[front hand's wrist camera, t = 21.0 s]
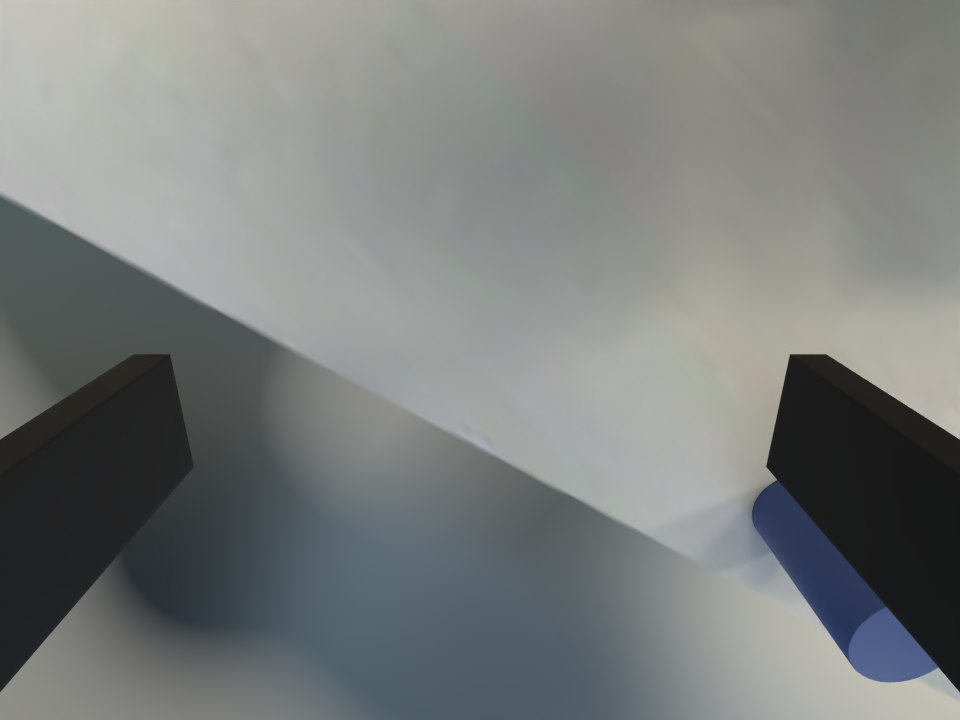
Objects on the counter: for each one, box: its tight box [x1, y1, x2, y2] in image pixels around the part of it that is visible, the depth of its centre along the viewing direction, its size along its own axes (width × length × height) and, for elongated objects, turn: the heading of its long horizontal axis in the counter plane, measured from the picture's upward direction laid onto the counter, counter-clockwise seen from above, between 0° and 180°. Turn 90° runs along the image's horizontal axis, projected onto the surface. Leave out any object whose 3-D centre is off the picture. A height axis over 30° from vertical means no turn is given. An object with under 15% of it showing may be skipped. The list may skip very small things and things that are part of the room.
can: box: [752, 481, 938, 682], centre depth 40 cm, size 6×6×13 cm
